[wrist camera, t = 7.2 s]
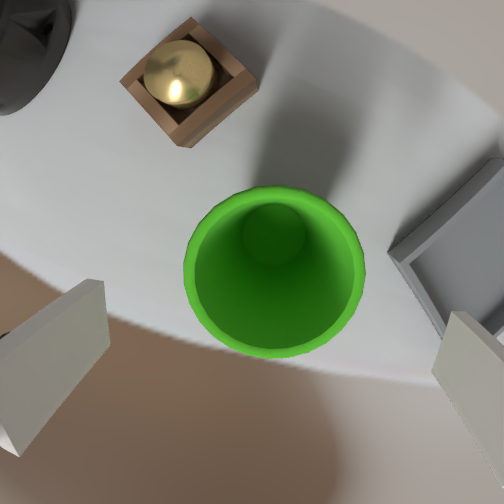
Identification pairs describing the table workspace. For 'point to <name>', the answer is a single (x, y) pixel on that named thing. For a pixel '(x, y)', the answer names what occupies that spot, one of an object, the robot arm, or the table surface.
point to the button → (180, 75)
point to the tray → (460, 254)
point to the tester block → (211, 111)
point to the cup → (274, 271)
